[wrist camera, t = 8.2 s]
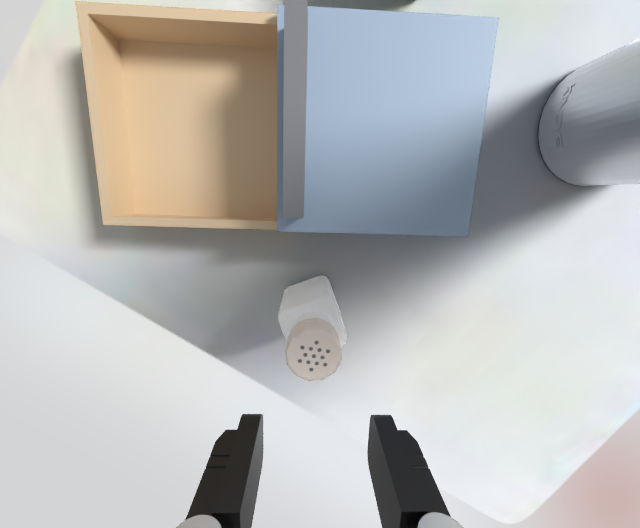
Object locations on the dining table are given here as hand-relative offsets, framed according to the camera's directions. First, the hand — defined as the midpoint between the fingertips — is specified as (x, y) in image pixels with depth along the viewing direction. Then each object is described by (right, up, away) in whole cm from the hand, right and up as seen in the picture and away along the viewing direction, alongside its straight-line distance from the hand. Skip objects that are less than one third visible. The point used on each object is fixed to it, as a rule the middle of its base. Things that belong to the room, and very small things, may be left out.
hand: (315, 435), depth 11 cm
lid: (+4, +15, +9) cm, 18 cm away
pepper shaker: (0, +3, +15) cm, 15 cm away
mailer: (-8, +16, +12) cm, 22 cm away
